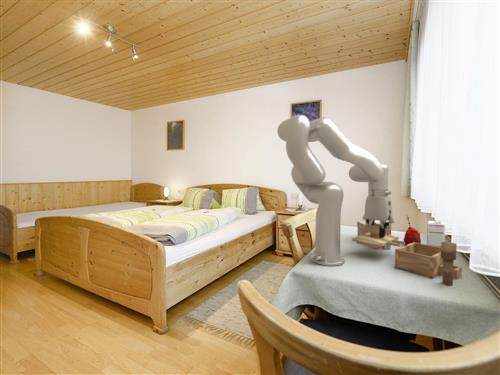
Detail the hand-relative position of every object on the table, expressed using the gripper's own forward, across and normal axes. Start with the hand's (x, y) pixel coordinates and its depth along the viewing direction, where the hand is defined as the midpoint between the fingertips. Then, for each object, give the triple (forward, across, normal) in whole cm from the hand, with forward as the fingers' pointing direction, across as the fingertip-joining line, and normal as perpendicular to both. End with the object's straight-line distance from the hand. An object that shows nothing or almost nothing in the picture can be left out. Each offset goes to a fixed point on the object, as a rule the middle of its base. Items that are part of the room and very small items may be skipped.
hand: (377, 235), depth 110 cm
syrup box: (+9, -16, -17) cm, 25 cm away
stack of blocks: (+9, +10, -15) cm, 20 cm away
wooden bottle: (+8, -28, +12) cm, 32 cm away
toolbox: (+8, -20, +2) cm, 22 cm away
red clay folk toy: (+9, -4, -25) cm, 26 cm away
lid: (+3, -2, +2) cm, 4 cm away
